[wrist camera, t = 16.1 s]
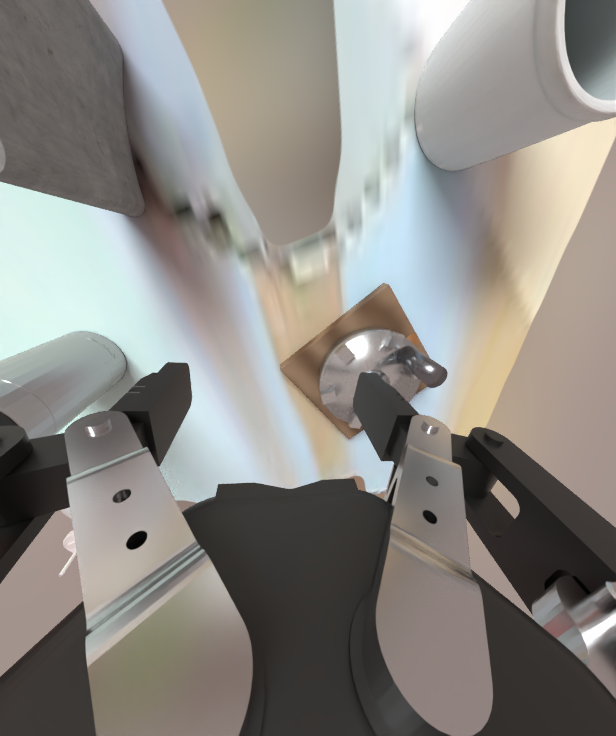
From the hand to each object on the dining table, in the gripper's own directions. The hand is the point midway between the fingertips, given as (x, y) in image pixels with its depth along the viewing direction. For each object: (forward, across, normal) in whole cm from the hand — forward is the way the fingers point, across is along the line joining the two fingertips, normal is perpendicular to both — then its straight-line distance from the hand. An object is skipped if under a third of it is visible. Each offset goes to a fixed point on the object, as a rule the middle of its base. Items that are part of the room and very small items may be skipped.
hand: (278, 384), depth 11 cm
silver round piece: (+26, -18, +12) cm, 33 cm away
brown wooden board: (+28, -18, +12) cm, 35 cm away
